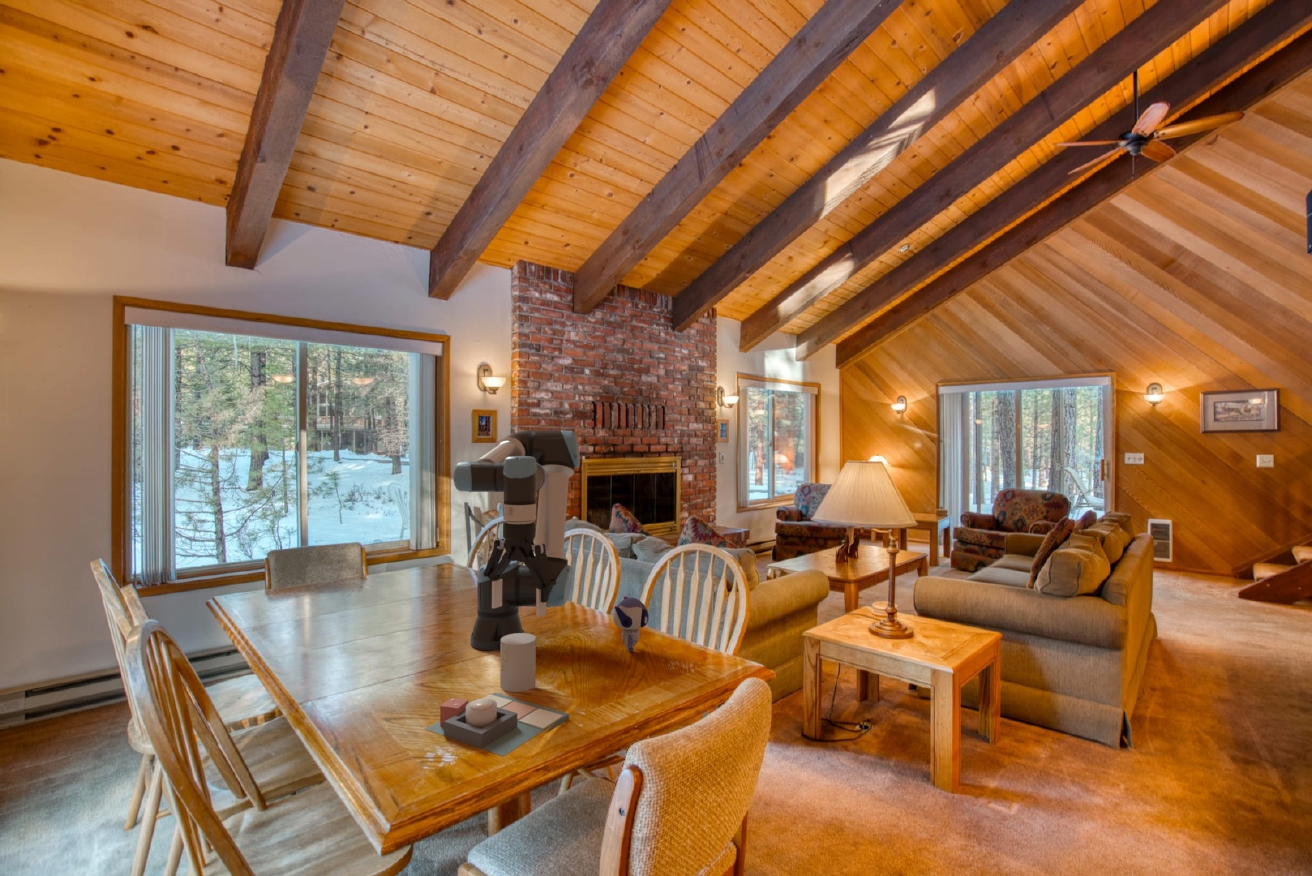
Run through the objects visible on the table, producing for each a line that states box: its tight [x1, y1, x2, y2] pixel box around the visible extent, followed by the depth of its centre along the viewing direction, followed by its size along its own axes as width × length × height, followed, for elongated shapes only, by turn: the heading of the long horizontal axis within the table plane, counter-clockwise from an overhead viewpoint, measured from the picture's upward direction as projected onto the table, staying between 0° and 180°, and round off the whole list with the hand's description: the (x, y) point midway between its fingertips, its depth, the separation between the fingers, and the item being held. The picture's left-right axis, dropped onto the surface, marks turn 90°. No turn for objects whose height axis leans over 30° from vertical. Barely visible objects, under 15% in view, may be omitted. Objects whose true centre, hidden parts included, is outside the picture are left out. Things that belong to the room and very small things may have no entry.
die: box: [439, 697, 469, 726], centre depth 127 cm, size 4×4×4 cm
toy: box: [612, 596, 650, 653], centre depth 172 cm, size 11×10×15 cm
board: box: [424, 692, 570, 757], centre depth 128 cm, size 21×20×4 cm
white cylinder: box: [499, 632, 537, 693], centre depth 146 cm, size 8×8×12 cm
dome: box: [466, 698, 497, 729], centre depth 124 cm, size 6×6×4 cm
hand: (518, 611), depth 146 cm, fingers open, 13 cm apart
